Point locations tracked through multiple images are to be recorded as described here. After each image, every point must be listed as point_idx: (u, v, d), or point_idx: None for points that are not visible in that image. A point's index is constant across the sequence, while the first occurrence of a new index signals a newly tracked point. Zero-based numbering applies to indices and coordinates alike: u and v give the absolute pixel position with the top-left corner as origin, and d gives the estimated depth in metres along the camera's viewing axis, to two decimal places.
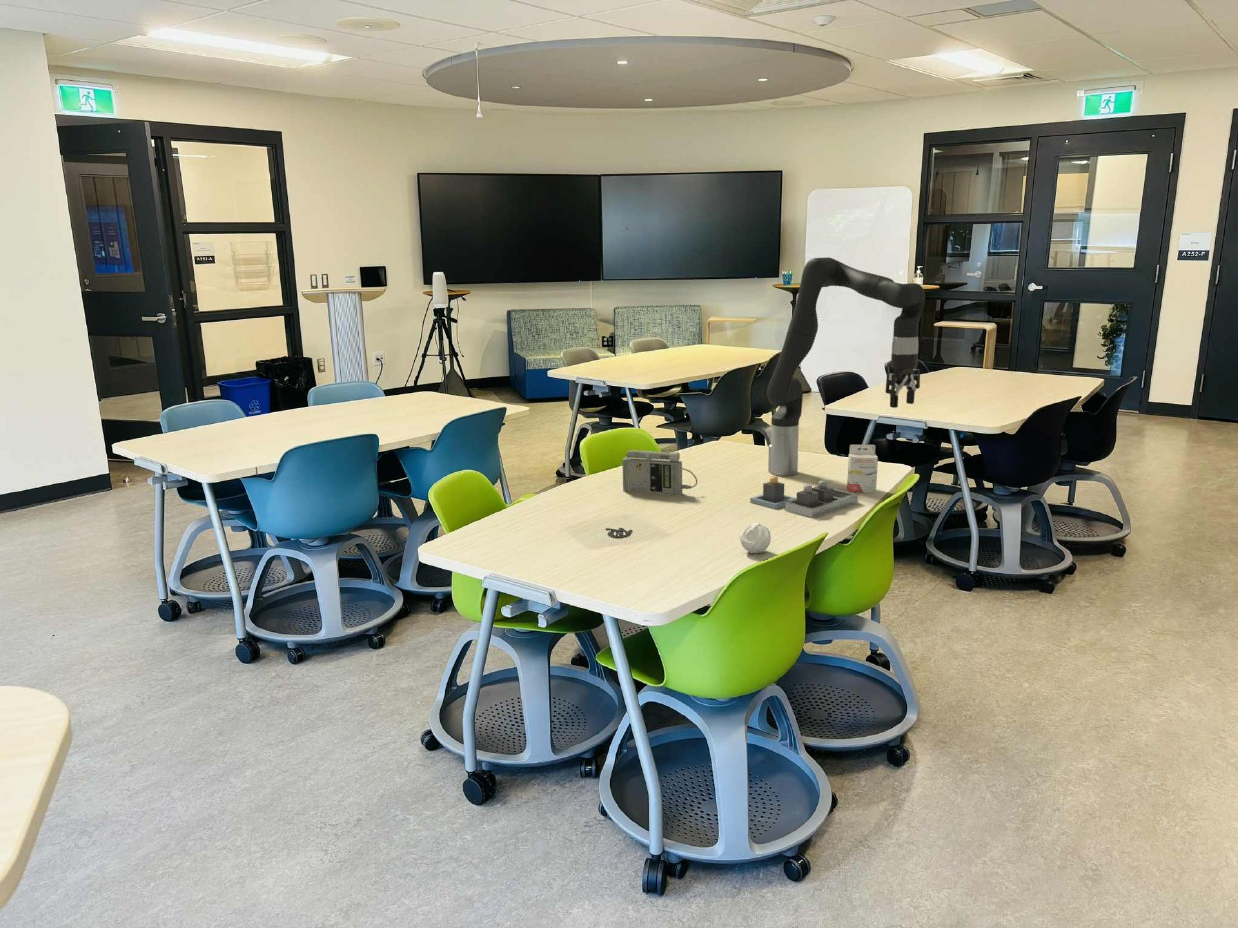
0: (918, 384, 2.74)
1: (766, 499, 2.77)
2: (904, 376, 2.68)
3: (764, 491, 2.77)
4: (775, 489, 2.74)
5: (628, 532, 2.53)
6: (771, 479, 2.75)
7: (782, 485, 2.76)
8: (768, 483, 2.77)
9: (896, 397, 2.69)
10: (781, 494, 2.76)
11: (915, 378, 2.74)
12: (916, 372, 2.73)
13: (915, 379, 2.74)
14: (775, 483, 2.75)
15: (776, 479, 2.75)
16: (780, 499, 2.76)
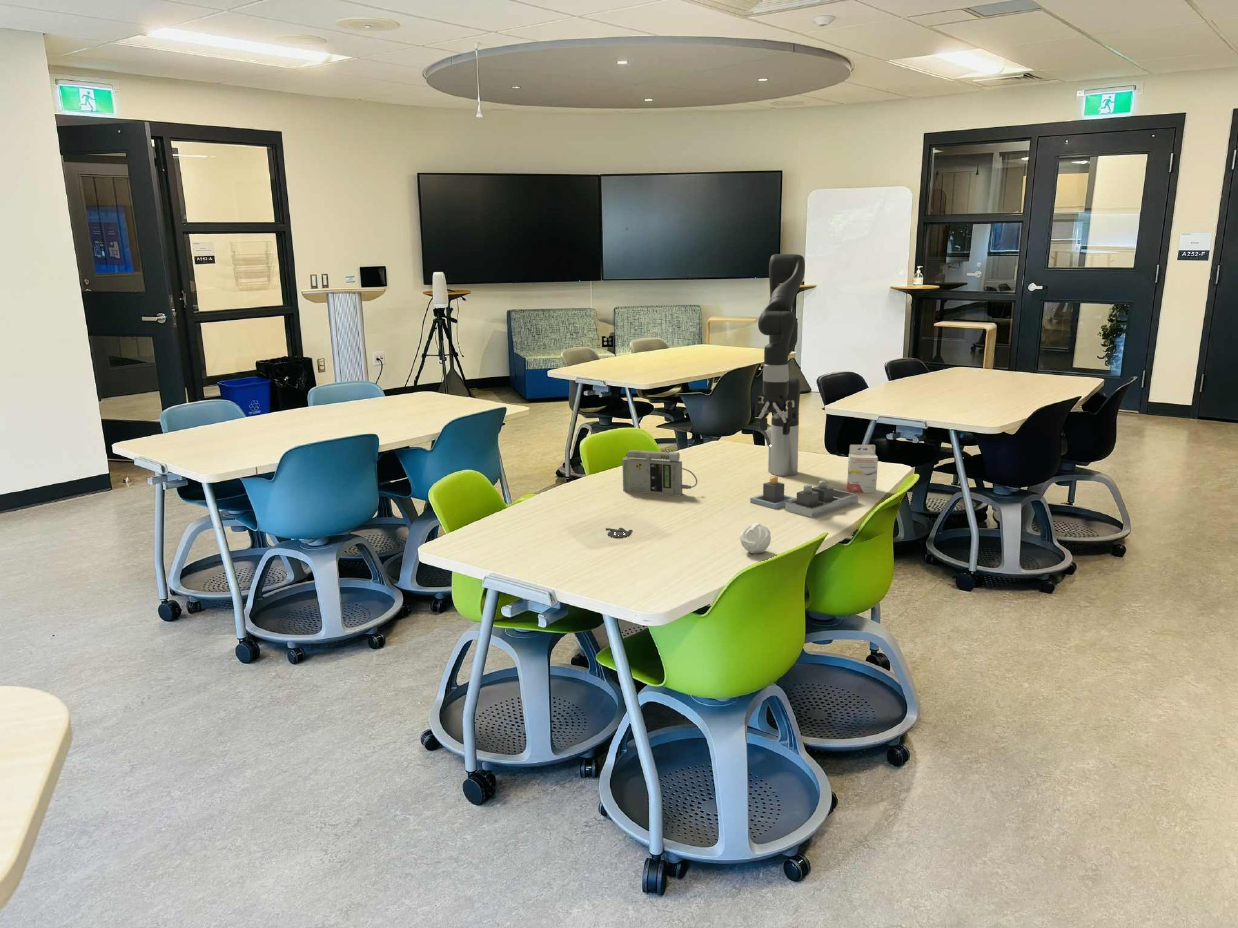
0: None
1: (766, 499, 2.77)
2: None
3: (764, 491, 2.77)
4: (775, 489, 2.74)
5: (628, 532, 2.53)
6: (771, 479, 2.75)
7: (782, 485, 2.76)
8: (768, 483, 2.77)
9: None
10: (781, 494, 2.76)
11: (761, 405, 2.75)
12: None
13: (761, 406, 2.75)
14: (775, 483, 2.75)
15: (776, 479, 2.75)
16: (780, 499, 2.76)
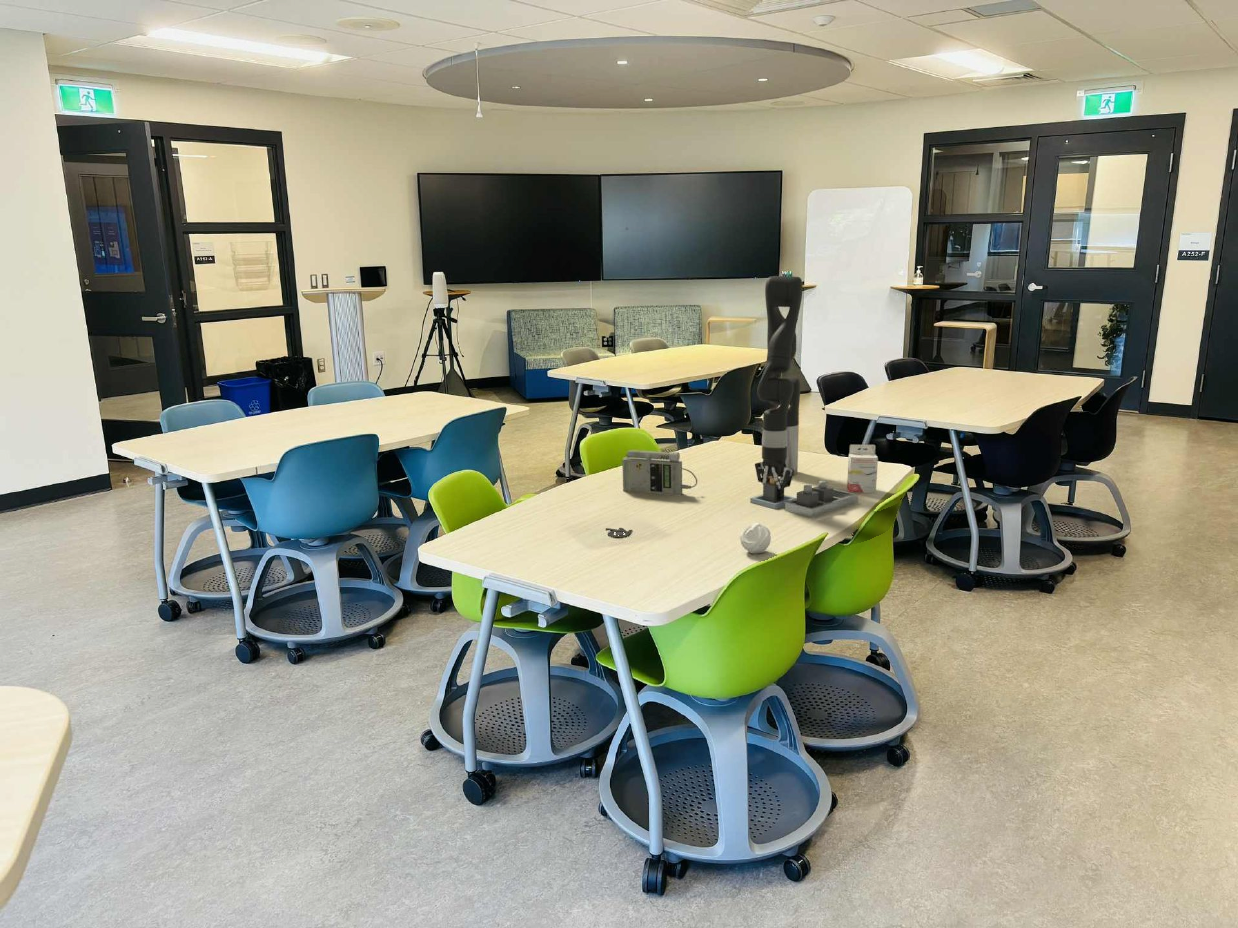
0: None
1: (766, 499, 2.77)
2: None
3: (764, 491, 2.77)
4: (775, 489, 2.74)
5: (628, 532, 2.53)
6: (771, 479, 2.75)
7: None
8: (768, 483, 2.77)
9: None
10: None
11: (762, 470, 2.80)
12: None
13: (762, 471, 2.80)
14: (775, 483, 2.75)
15: None
16: None
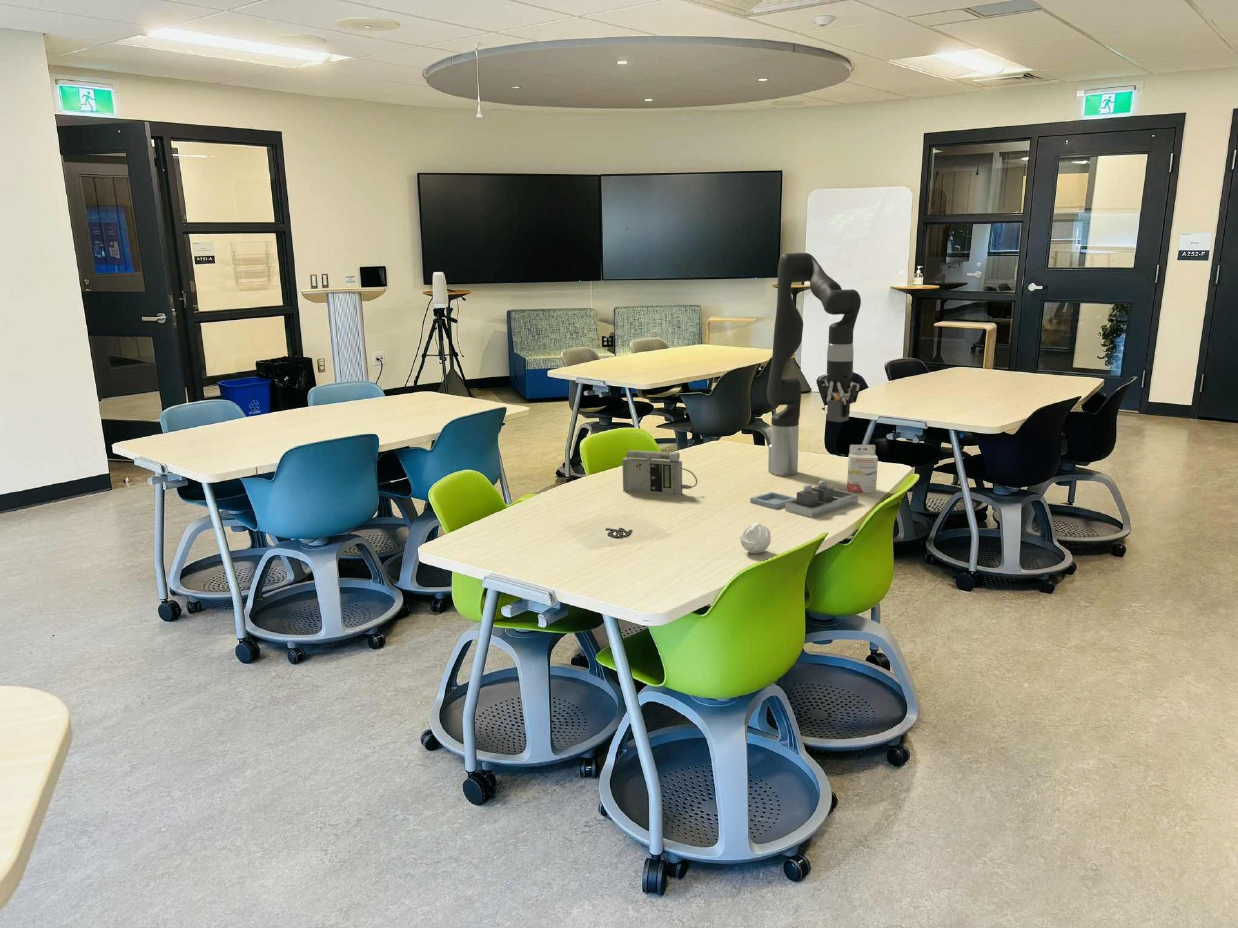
0: None
1: (830, 416, 2.69)
2: None
3: (828, 408, 2.70)
4: (840, 405, 2.67)
5: (628, 532, 2.53)
6: (836, 395, 2.68)
7: None
8: (832, 400, 2.69)
9: None
10: None
11: (826, 388, 2.72)
12: None
13: (826, 389, 2.72)
14: (840, 400, 2.68)
15: None
16: None
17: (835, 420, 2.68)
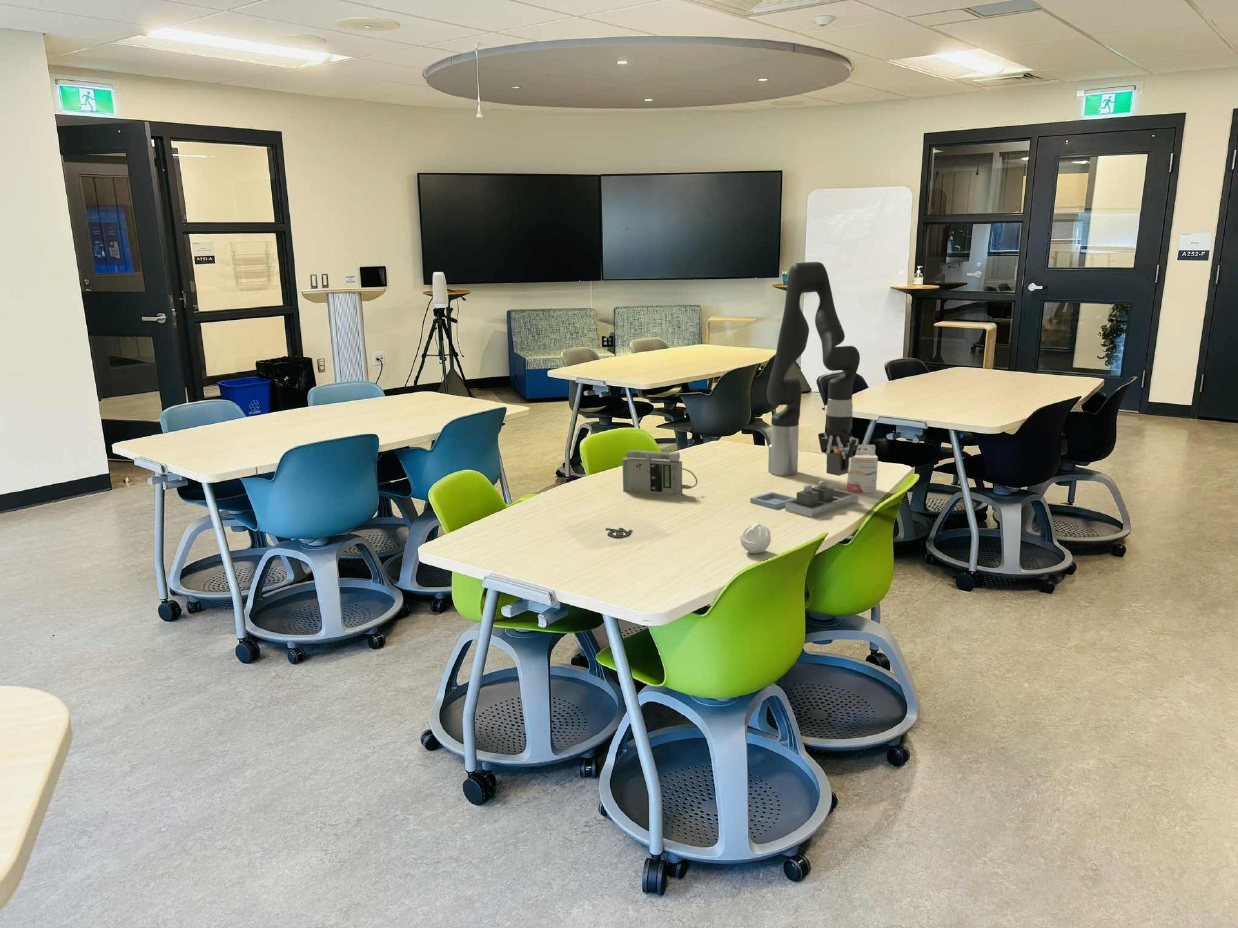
0: None
1: (830, 470, 2.73)
2: None
3: (828, 461, 2.74)
4: (840, 459, 2.71)
5: (628, 532, 2.53)
6: (835, 449, 2.72)
7: None
8: (832, 453, 2.73)
9: None
10: None
11: (826, 441, 2.76)
12: None
13: (826, 442, 2.76)
14: (839, 453, 2.72)
15: None
16: None
17: (834, 473, 2.72)
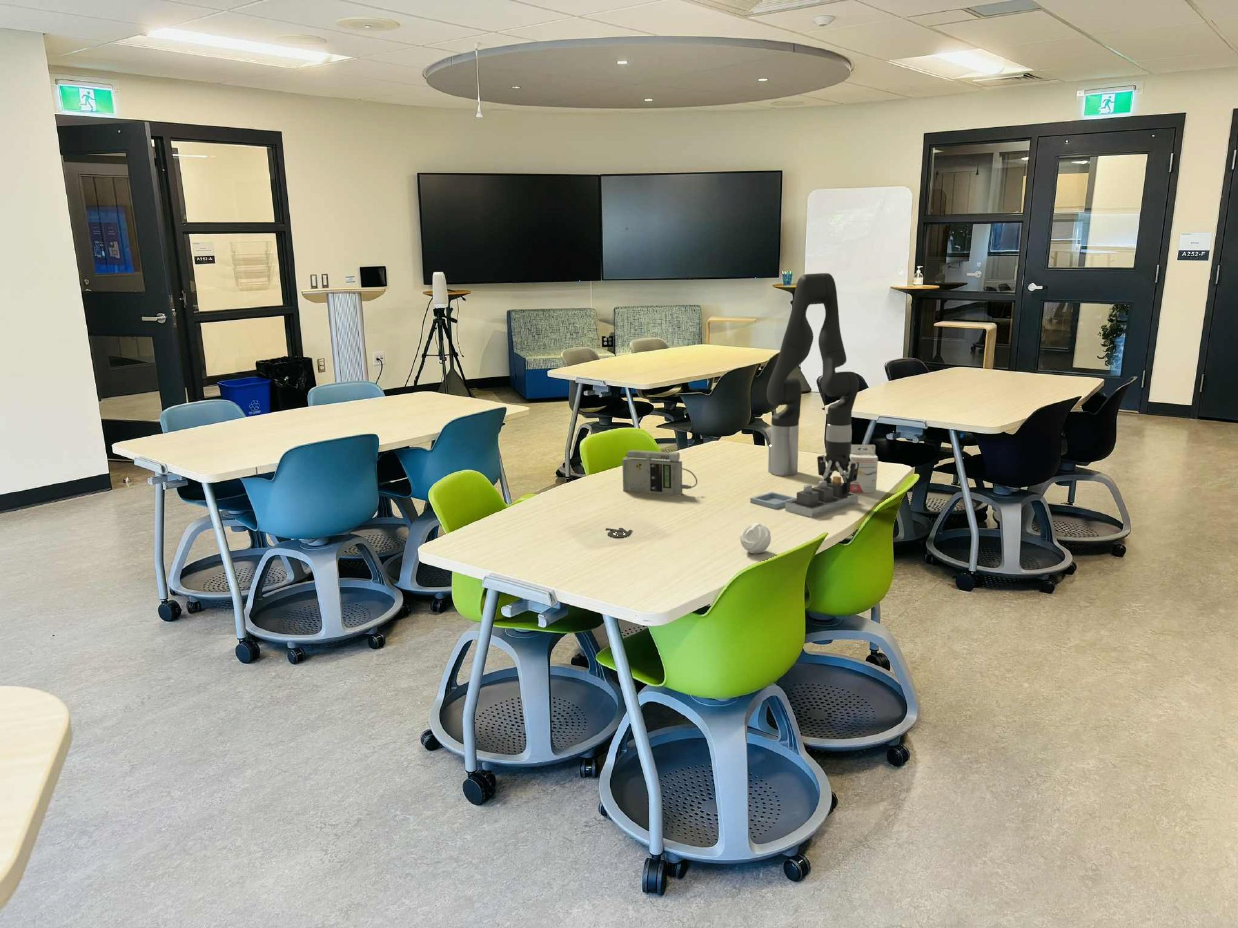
0: None
1: None
2: None
3: None
4: (839, 489, 2.73)
5: (628, 532, 2.53)
6: (834, 479, 2.74)
7: None
8: (831, 483, 2.76)
9: None
10: (844, 495, 2.75)
11: (824, 464, 2.78)
12: None
13: (824, 465, 2.78)
14: (838, 483, 2.74)
15: (839, 479, 2.74)
16: None
17: None
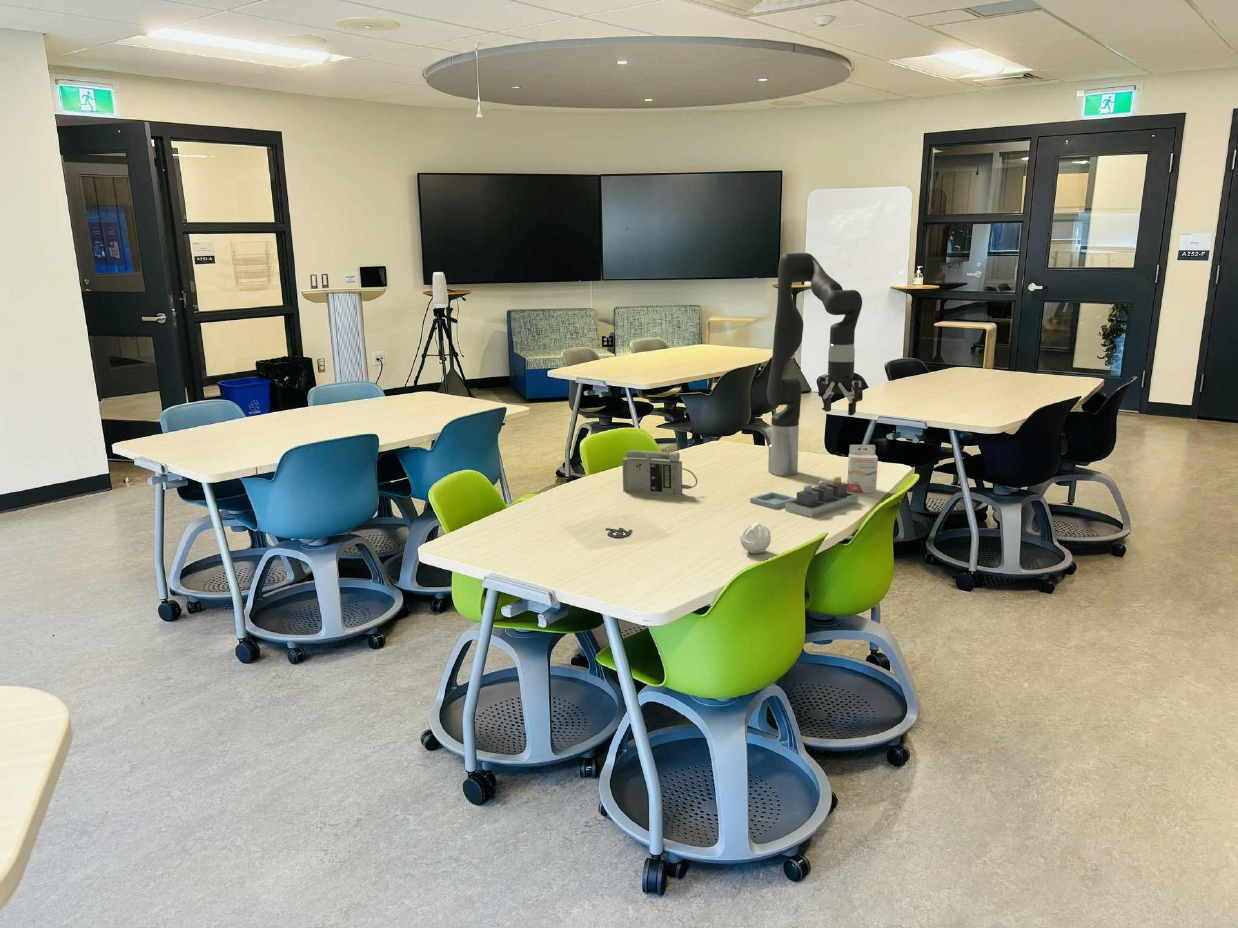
0: None
1: None
2: None
3: None
4: (839, 489, 2.73)
5: (628, 532, 2.53)
6: (834, 479, 2.74)
7: (845, 485, 2.75)
8: (831, 483, 2.76)
9: None
10: (844, 495, 2.75)
11: (825, 385, 2.73)
12: None
13: (825, 386, 2.73)
14: (838, 483, 2.74)
15: (839, 479, 2.74)
16: None
17: None
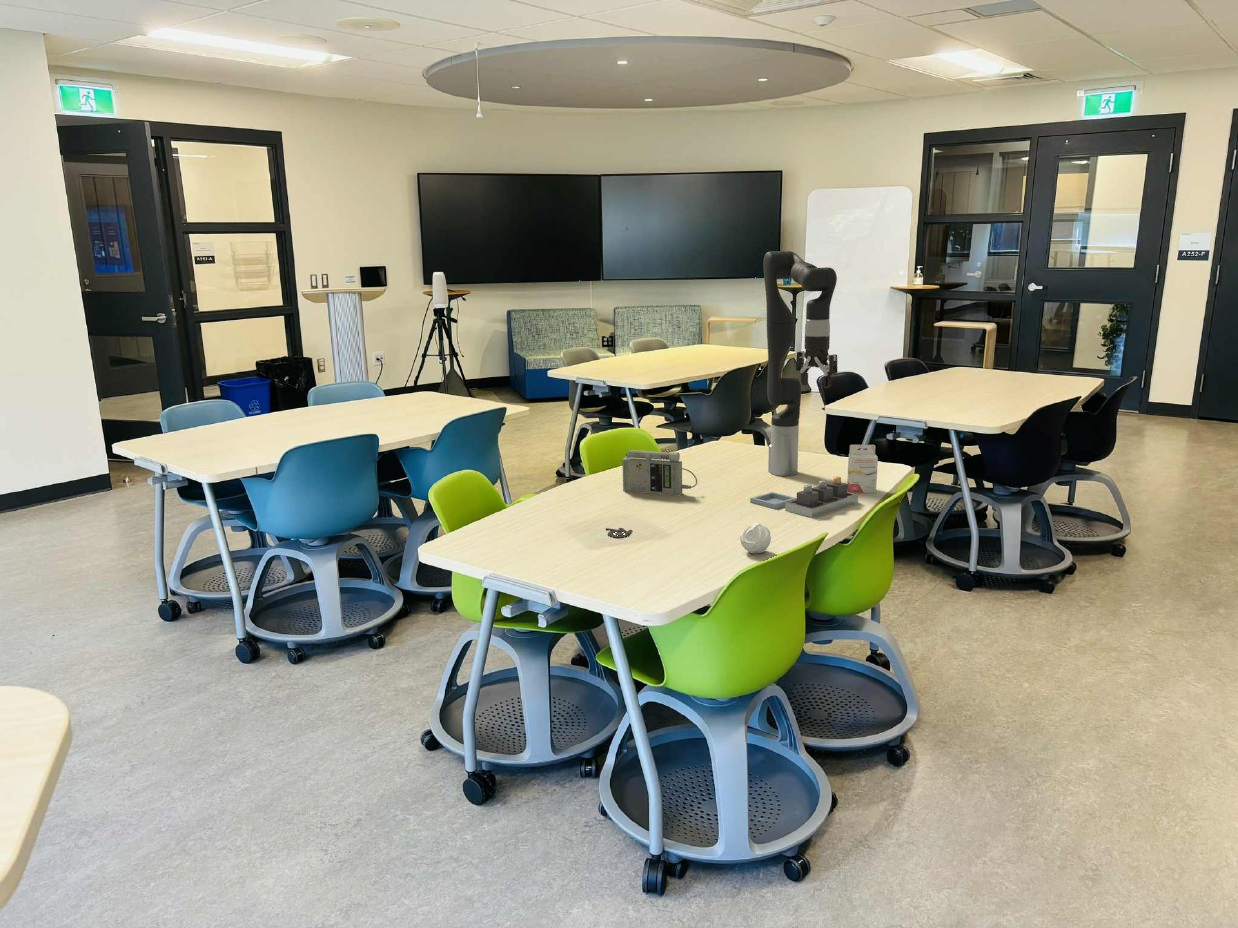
0: None
1: None
2: None
3: None
4: (839, 489, 2.73)
5: (628, 532, 2.53)
6: (834, 479, 2.74)
7: (845, 485, 2.75)
8: (831, 483, 2.76)
9: None
10: (844, 495, 2.75)
11: (802, 360, 2.84)
12: None
13: (802, 361, 2.84)
14: (838, 483, 2.74)
15: (839, 479, 2.74)
16: None
17: None
